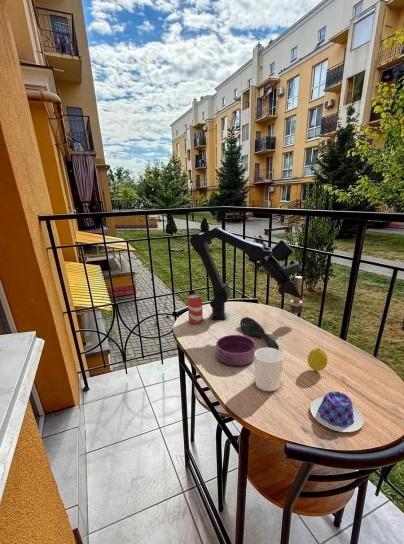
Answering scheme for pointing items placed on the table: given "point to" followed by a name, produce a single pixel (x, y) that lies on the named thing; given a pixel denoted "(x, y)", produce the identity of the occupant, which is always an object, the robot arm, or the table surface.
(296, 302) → the dish brush
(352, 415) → the blue patterned hat
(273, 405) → the table surface
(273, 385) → the white cup
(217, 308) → the robot arm
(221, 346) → the bowl
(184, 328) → the table surface
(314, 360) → the lemon
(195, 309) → the beverage can
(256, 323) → the hairbrush
